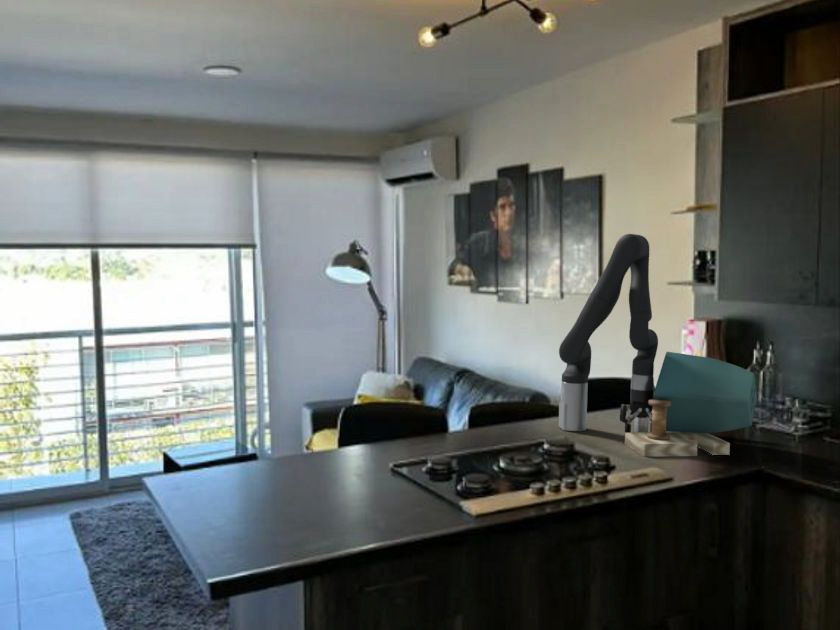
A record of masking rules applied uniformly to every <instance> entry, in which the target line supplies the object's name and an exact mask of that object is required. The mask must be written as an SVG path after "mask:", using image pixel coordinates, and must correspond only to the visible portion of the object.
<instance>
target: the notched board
mask: <svg viewBox="0 0 840 630" xmlns="http://www.w3.org/2000/svg"><path fill="white" fill-rule="evenodd" d="M648 432H649V431H648ZM648 432H634V431H633V432H631V433H625V432H624V446H627V447H628V448H630V449H631V450H633V451H635V452H636V453H638V454H639V455H641V456H642V457H645V458H646V457H649V458H651V457H697V456H698V448H697V446H698V447H700V448H701V449H703V450H705V451H707V452H709V453H710V454H709V453H708V454H709V455H711V454H712V455H711V456H713V455H729V456H730V450H731V447H730V446H731V443H730V442H728V441H726V440H724V439H721V438H719V437H718V436H715V435H713V434H712V433H690V432H666V433H667V434H670V439H669V440H653V439H649V438H647V433H648ZM701 449H700V450H701ZM703 450H702V451H703ZM705 451H704V452H705ZM707 452H706V453H707Z"/></svg>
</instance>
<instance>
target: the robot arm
mask: <svg viewBox="0 0 840 630" xmlns="http://www.w3.org/2000/svg"><path fill="white" fill-rule="evenodd" d="M649 266H650V243H649V241H648V239H647V238H646V237H645V236H643V235H641V234H636V233H626V234H624V235H622V236H621V237H619V239H618V240H617V242H616V244H615V245H614V248H613V250H612V252H611V255H610V257H609V260H608V262H607V265H606V266H605V268H604V270H603V271H602V273H601V275H600V277H599V278H598V280H597V283H596V284H595V285H594V287H593V289H592V291H591V292H590V294H589V296H588V298H587V300H586V302H585V304H584V306H583V308H582V310H581V311H580V313H579V315H578V316H577V318H576V321H575V323H574V325H573V326H572V328H571V329H570V331H568V333H567V334H566V336H565V337H564V339H563V340H562V341H561V343H560V345H559V349H558V354H559V355H558V356H559V357H560V359H561V361H562V362H563V363H565V364H566V367H565V370H564V371H563V372H562V374H561V390H560V392H561V393H560V397H561V398H560V401H559V402H558V405H559V406H558V428H560V429H561V430H563V431H569V432H584V431H587V414H588V413H587V411H588V410H587V409H588V384H589V383H588V380H589V376H590V374H591V373H590V372H591V366H592V365H591V364H592V347H591V344H590V342H589V340H590V338H591V337H592V335H593V334H594V332H595V331H596V330H598V328H599V327H600V326H601V325H602V324H603V323H604V322H605V321H606V320H607V318H609V316H610V314H611V313H612V312H613V310H614V307H616V304H617V302H618V300H619V298H620V295H621V293H622V292H621V291H622V285H623V281H624V279H625V276H626V274H627V272H628V271H629V270H630V286H629V291H628V306H629V313H630V314H629V315H630V322H629V323H630V324H629V335H628V337H629V341H630V345H631V346H632V348H633V349H634V350H636V351H637V354H636V356H635V357H634V358H633V359H632V364H631V365H632V368H631V377H630V395H629V396H630V397H629V399H630V401H629V404H624V403H622V404H620V409H619V421H620V422H622V423H624V434H625V433H632V424H631V423H632V422H634V419H635V418H636V417H647V418H649V419H648V421H650V423H649V424H650V425H649V426H650V427H649V430H650V431H649V432H652V408H653V406H651V405H649V404H648V402H649V400H651V399H654V391H655V379H654V372H655V371H654V369H655V367H654V366H655V365H654V363H655V359H656V356H657V351H658V348H659V338H658V334H657V333H656V331H655V330H653V329H651V328H649V323H650V321H651V320H652V318H653V313H652V312H653V311H652V305H651V304H652V302H651V296H650V282H649V279H650V277H649V274H650V273H649V271H650V268H649ZM629 410H630V412H629V413H628V414H627V412H628V411H629Z"/></svg>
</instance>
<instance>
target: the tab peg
mask: <svg viewBox="0 0 840 630" xmlns="http://www.w3.org/2000/svg"><path fill="white" fill-rule="evenodd" d="M633 422H634V424H633V427H634V428H633V432H649V418H648V417H636V418H635V419H634V420H633Z"/></svg>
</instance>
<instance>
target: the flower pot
mask: <svg viewBox="0 0 840 630" xmlns="http://www.w3.org/2000/svg"><path fill="white" fill-rule="evenodd" d="M756 386H757V385H756V377H755V373H754V372H752V371H749V370H748V369H745V368H743V367H741V366H739V365H738V366H737V365H736V364H732V363H729V362H726V361H723V360H721V359H716V358H712V357H707V356H702V355H701V356H700V355H693V354H686V353H679V352H673V351H666V352H665V355H664V359H663V362H662V365H661V367H660V372H659V375H658V376H657V380H656V385H655V386H654V392H653V399H661V400H668V401H671V406H669V407H667V416H666V432H690V433H709V434H712V433H722V432H731V431H735V430H740V429H743V428H748V427H751V426H753V421H754V417H755V410H756V405H757V399H758V395H757V387H756Z"/></svg>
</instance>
